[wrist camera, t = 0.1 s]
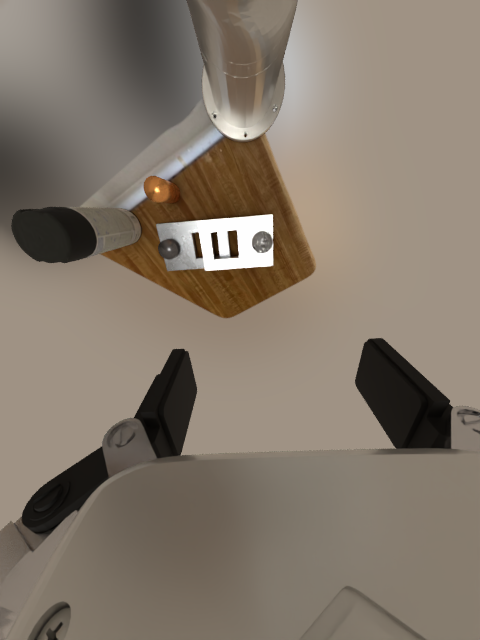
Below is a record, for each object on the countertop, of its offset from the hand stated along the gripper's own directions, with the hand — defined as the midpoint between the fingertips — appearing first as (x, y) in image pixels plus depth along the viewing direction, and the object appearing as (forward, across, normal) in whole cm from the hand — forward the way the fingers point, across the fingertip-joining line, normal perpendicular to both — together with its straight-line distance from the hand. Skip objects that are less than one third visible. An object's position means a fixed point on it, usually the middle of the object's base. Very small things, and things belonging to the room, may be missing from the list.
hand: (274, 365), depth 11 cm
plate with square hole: (+36, +3, -2) cm, 36 cm away
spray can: (+37, +25, -6) cm, 45 cm away
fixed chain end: (+37, +11, -2) cm, 38 cm away
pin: (+37, +15, -12) cm, 41 cm away
